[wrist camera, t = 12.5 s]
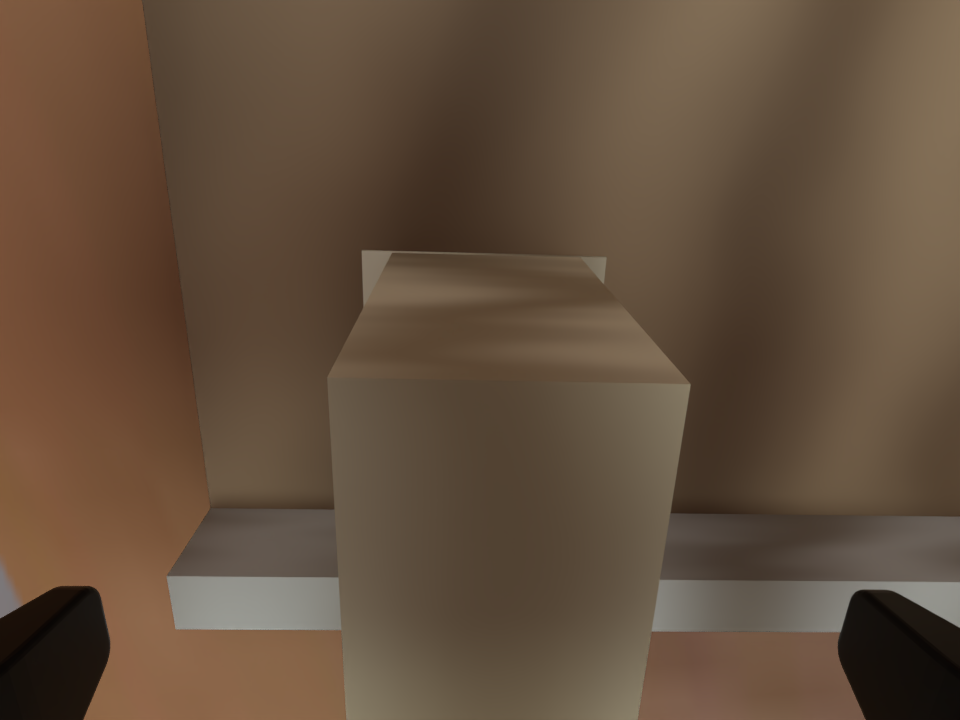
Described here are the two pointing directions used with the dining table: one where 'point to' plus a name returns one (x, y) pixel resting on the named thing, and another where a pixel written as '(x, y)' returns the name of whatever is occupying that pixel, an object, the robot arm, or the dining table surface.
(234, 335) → the walnut board
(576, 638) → the block
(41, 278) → the dining table surface
